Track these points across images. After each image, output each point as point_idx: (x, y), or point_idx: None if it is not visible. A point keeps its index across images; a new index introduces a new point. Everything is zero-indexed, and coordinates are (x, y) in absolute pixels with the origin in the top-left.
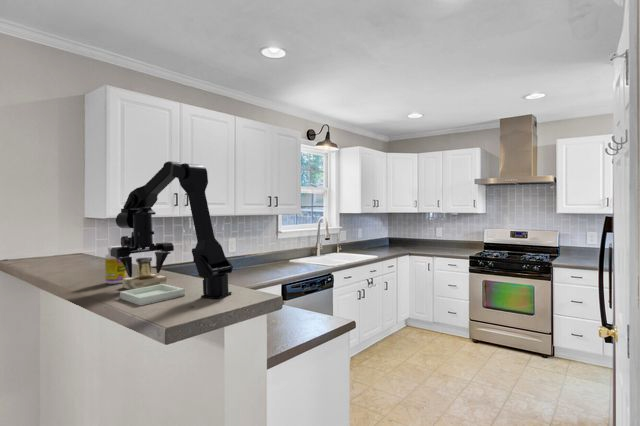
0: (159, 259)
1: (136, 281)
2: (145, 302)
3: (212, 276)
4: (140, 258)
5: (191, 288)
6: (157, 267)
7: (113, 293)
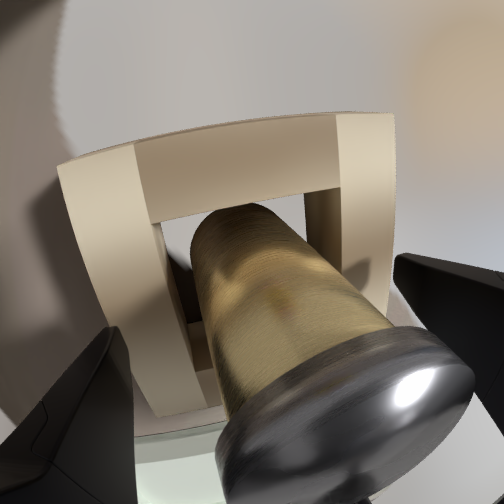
0: (490, 367)
1: (161, 406)
2: None
3: None
4: (320, 477)
5: None
6: (429, 299)
7: (26, 329)
